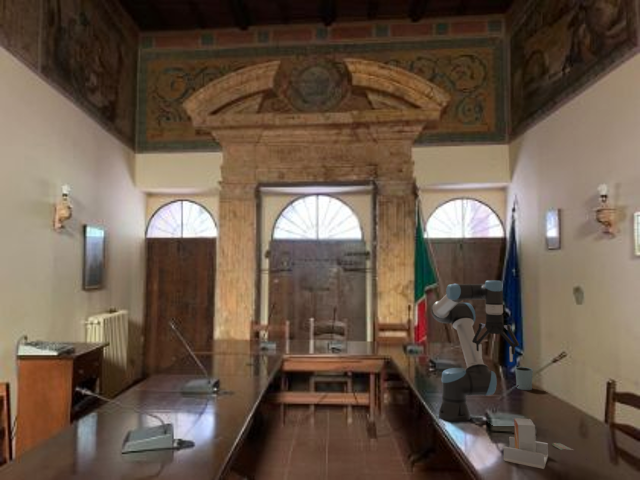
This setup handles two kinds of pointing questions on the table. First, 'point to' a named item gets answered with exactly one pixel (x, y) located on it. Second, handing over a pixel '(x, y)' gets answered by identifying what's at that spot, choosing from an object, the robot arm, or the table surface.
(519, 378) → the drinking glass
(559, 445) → the map
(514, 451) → the end holder
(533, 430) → the small box
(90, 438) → the table surface
